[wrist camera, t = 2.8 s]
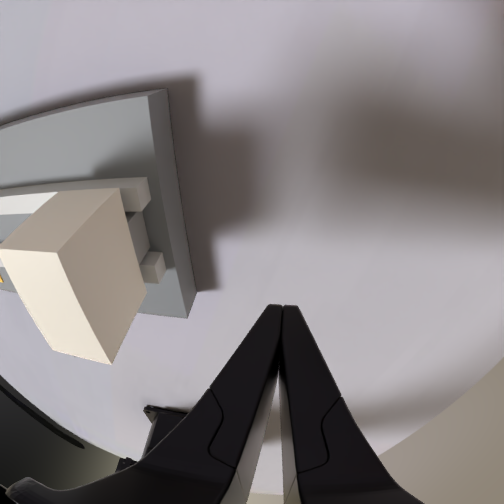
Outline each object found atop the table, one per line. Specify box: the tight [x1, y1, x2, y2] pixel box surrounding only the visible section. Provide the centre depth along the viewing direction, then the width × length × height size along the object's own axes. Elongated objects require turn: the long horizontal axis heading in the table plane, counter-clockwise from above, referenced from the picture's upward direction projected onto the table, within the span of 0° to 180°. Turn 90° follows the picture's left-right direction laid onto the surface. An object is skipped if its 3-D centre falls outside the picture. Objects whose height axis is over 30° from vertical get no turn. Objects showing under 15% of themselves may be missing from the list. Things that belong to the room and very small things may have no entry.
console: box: [0, 88, 197, 319], centre depth 15 cm, size 11×17×3 cm, turn 92°
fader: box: [0, 188, 150, 365], centre depth 11 cm, size 5×3×5 cm, turn 2°
